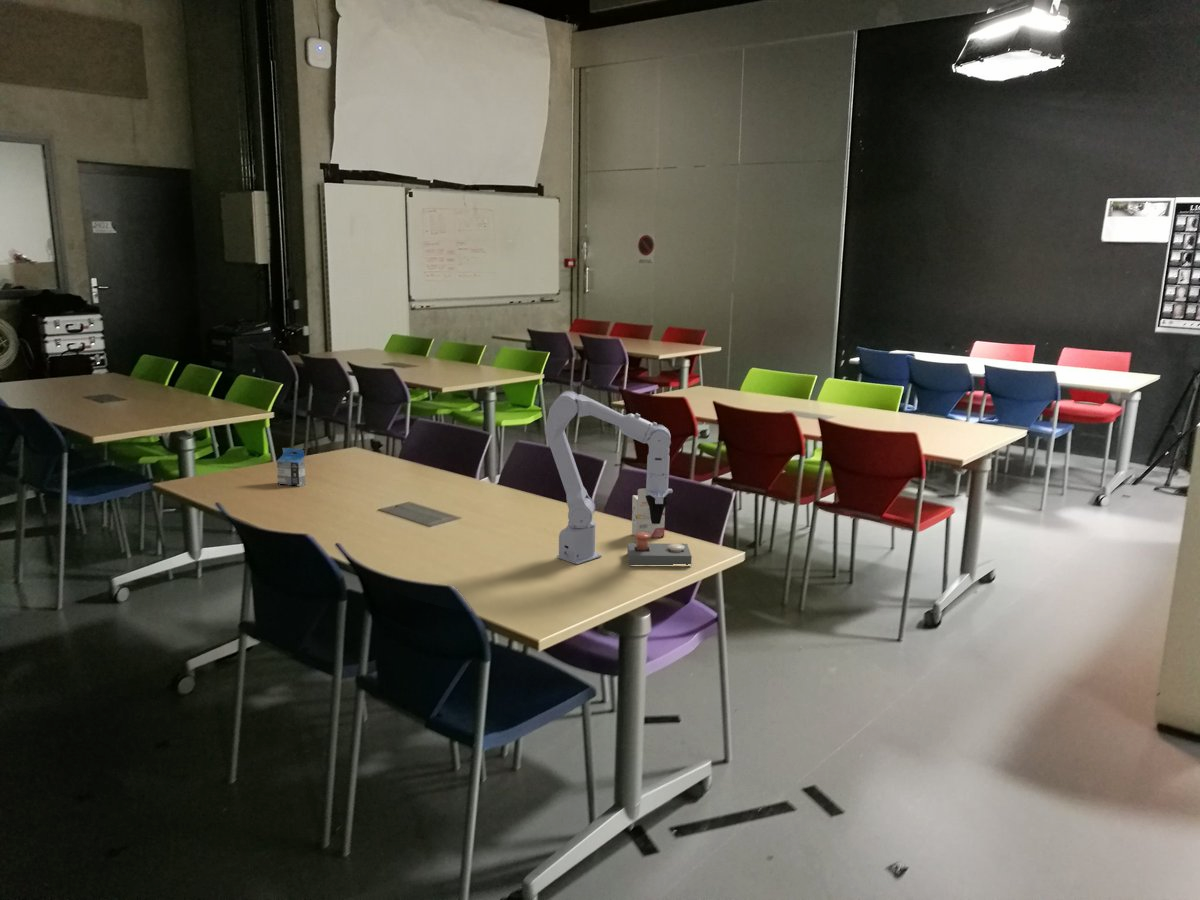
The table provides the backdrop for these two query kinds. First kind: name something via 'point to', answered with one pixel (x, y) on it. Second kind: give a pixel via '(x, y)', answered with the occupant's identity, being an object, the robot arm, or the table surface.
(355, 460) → the table surface
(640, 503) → the ink cartridge box
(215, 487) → the table surface
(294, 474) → the label tape box
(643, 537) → the plunger red
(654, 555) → the console
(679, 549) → the plunger ivory
